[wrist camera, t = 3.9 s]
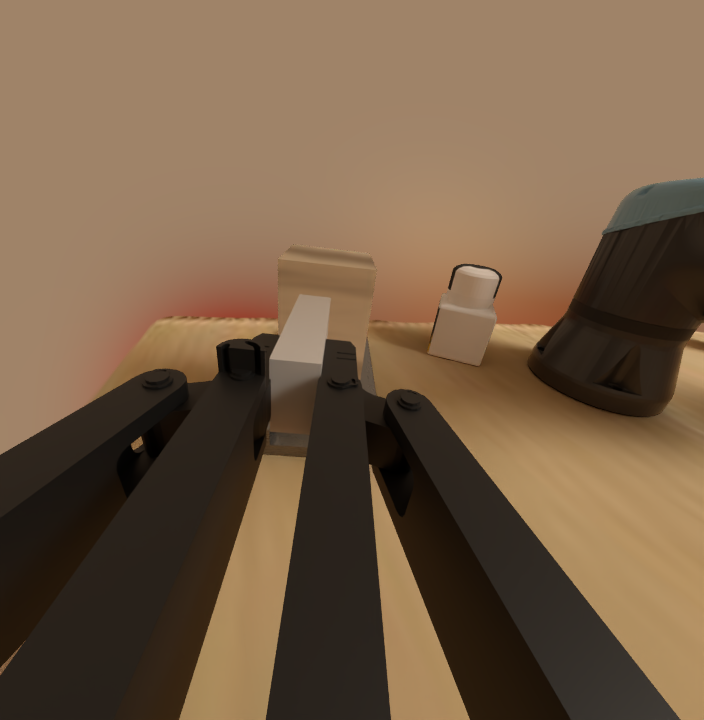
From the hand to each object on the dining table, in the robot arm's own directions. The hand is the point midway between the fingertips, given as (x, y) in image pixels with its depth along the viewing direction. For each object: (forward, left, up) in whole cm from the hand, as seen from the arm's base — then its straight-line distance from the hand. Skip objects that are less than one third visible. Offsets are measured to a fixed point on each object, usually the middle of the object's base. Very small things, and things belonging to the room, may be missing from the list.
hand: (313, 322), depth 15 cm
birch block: (-3, -7, -11) cm, 14 cm away
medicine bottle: (-26, -17, -13) cm, 33 cm away
